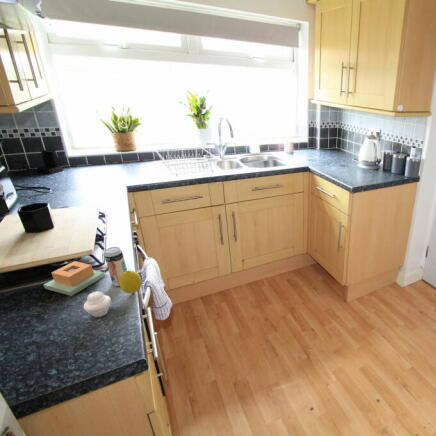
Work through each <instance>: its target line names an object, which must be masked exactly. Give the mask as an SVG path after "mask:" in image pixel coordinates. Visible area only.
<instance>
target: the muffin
mask: <svg viewBox="0 0 436 436" xmlns="http://www.w3.org/2000/svg"><path fill="white" fill-rule="evenodd" d="M111 303H112V299H111V297H110V295H106V294H104V292H102V291H93V292H90V293H89V294H88V295H87V297H86V301H85V303H84V304H83V310H84V311H86V313H88V314H89V315H91V316H93V317H95V318H100V317H103V316H105V315H106V314H108V312H109V310H110V306H111Z"/></svg>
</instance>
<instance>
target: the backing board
mask: <svg viewBox="0 0 436 436" xmlns="http://www.w3.org/2000/svg"><path fill="white" fill-rule="evenodd" d="M74 270H76V269H70V270H68V272H72V271H74ZM93 272H94V275H92V276H90V277H88V278H87V279H85V280H83V281H81V282H79V283H78V284H76V285H74V286H68V285H64V284H60V283H56V282H55V281H54V278H53V279H52V280H50V281H48V282H46V283H43V287H44V289H45V290H48V291H53V292H55V293H59V294H63V295H67V296H69V297H70V296H71V297H72V296H74V295H76V294H77V293H79V292H81V291H82V290H84V289H86V288H87V287H90V286H91V285H92V284H95V283H96V282H98V281H100V280H101V279H103V278H105V277H106V275H105V272H104V271H99V270H97V269H93Z"/></svg>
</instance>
